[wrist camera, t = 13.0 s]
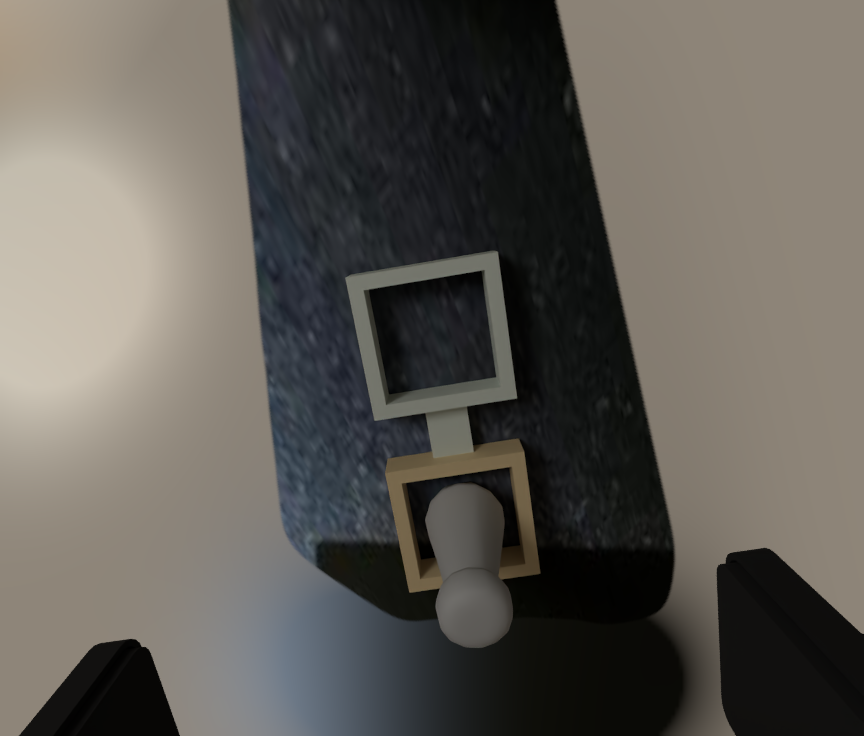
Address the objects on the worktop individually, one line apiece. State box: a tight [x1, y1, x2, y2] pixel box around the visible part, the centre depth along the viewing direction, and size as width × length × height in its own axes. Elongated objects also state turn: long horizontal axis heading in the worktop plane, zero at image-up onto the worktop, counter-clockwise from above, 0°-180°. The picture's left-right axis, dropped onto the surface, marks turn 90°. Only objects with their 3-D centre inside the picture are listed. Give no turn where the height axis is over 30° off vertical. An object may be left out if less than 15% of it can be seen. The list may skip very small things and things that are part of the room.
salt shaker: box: [425, 481, 513, 648], centre depth 35 cm, size 6×6×13 cm
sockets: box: [346, 251, 540, 592], centre depth 38 cm, size 24×10×2 cm, turn 9°
